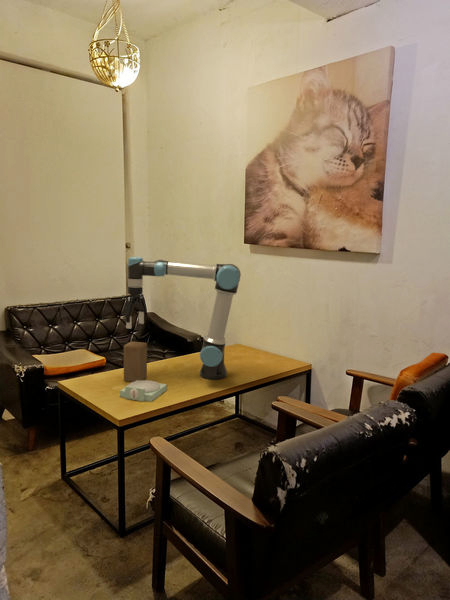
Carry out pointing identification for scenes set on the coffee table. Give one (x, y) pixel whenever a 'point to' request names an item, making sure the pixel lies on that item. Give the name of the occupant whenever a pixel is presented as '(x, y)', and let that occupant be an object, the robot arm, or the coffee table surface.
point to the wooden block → (135, 361)
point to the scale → (143, 390)
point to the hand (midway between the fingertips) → (135, 326)
